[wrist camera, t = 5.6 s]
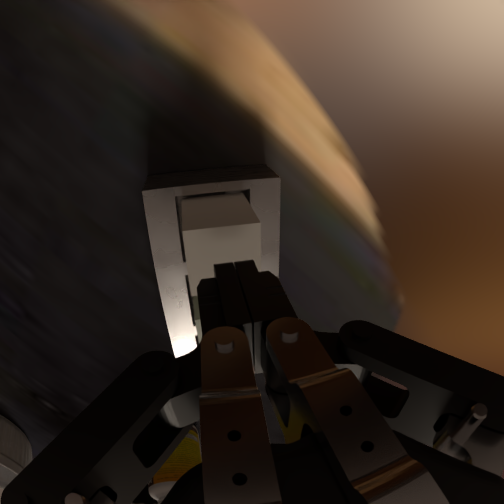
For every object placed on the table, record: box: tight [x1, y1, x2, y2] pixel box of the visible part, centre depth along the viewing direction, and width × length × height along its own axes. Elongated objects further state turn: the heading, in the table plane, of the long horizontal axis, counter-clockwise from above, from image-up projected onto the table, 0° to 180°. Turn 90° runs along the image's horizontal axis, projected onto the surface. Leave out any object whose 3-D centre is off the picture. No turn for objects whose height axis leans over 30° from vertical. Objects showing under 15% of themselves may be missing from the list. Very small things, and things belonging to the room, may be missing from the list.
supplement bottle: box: [148, 425, 202, 504], centre depth 25 cm, size 6×6×10 cm
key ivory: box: [181, 193, 261, 296], centre depth 16 cm, size 3×3×4 cm
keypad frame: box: [142, 165, 280, 358], centre depth 20 cm, size 7×14×3 cm, turn 1°
